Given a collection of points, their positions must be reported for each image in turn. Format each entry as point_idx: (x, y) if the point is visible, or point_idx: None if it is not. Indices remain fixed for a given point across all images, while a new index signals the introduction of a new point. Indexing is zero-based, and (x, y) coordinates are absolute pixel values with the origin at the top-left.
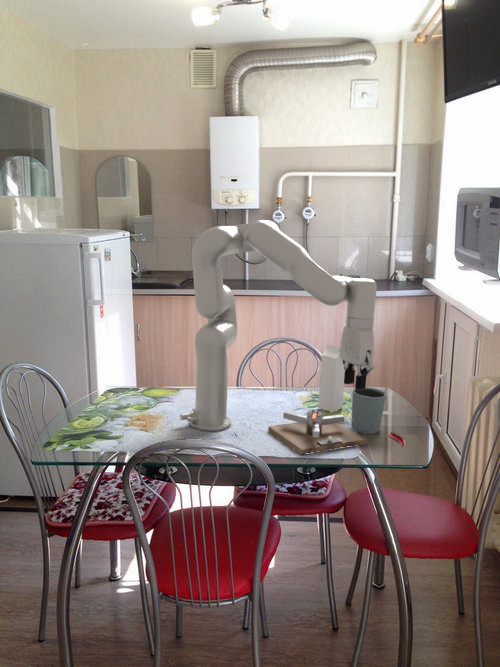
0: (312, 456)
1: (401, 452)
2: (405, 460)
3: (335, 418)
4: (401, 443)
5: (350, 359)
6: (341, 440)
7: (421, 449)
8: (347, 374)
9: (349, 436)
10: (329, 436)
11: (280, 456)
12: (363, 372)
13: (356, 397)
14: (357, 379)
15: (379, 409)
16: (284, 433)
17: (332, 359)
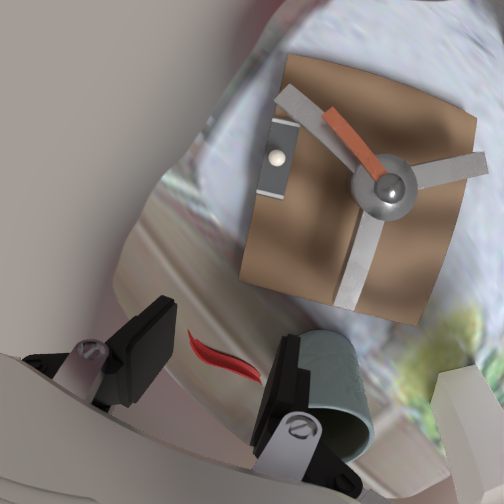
0: (265, 79)
1: None
2: (131, 268)
3: (345, 267)
4: (200, 345)
5: (72, 440)
6: (260, 195)
7: None
8: (269, 386)
9: (282, 256)
10: (277, 156)
11: (312, 16)
12: (53, 357)
13: (332, 395)
14: (126, 328)
15: None
16: (415, 105)
17: (495, 481)
